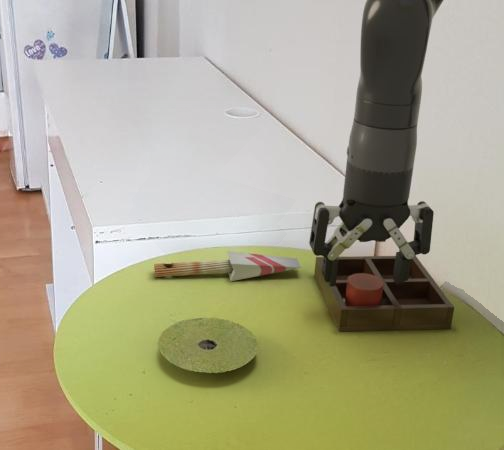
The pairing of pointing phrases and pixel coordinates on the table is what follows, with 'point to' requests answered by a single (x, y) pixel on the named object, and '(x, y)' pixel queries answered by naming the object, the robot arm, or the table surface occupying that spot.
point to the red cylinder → (363, 290)
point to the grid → (386, 297)
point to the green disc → (208, 345)
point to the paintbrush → (230, 266)
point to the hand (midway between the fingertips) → (364, 283)
